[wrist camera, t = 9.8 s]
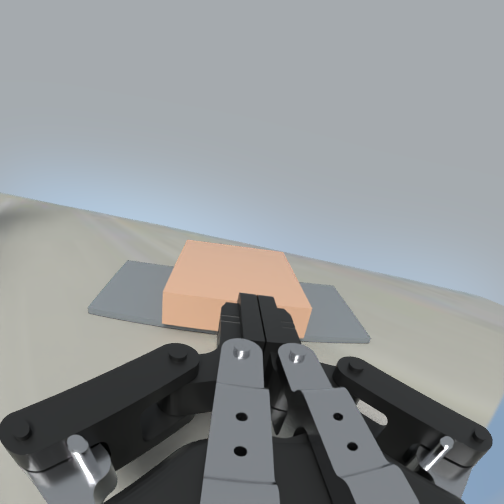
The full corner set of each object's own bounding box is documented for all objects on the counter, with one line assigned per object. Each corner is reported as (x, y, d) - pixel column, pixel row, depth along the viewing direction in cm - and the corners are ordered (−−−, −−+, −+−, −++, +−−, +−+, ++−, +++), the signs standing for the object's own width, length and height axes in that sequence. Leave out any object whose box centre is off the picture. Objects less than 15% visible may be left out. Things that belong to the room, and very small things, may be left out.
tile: (162, 291, 19) (187, 239, 30) (162, 325, 19) (185, 263, 31) (312, 308, 20) (283, 252, 31) (302, 340, 20) (278, 275, 32)
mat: (88, 313, 19) (87, 307, 19) (127, 264, 29) (127, 260, 29) (368, 343, 22) (370, 338, 22) (332, 289, 32) (333, 285, 31)
